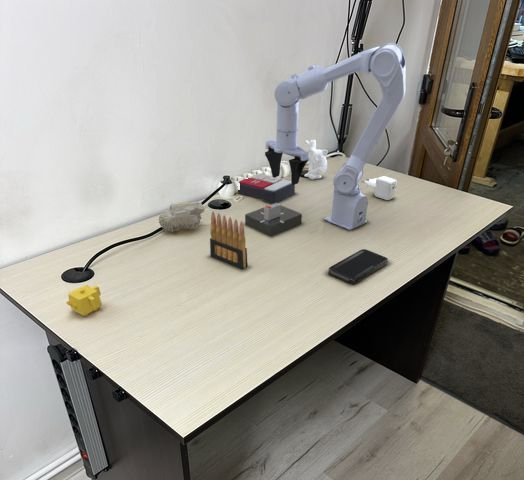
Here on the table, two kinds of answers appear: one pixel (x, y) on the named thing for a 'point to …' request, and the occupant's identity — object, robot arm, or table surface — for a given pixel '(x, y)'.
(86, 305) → the yellow knobbed block
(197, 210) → the fossil replica
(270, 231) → the panel
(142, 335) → the table surface
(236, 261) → the ammunition clip
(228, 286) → the table surface
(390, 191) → the power adapter
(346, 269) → the phone
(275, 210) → the knob
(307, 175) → the white animal figurine
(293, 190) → the red and grey box
